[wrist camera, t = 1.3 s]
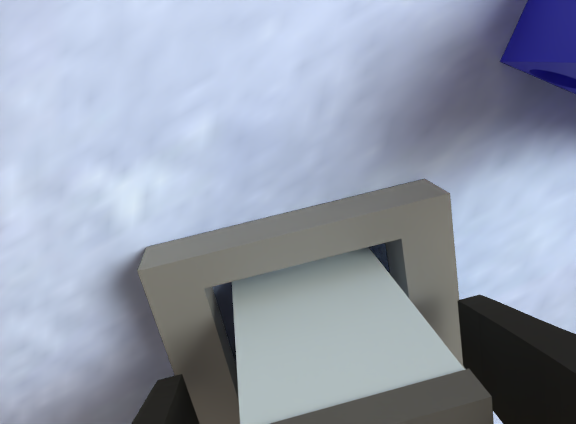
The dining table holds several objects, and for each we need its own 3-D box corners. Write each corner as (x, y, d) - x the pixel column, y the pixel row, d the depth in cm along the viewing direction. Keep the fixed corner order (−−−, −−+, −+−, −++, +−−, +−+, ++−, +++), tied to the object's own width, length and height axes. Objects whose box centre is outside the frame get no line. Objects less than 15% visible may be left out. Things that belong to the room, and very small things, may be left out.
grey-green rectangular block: (384, 354, 15) (502, 565, 9) (261, 387, 15) (292, 631, 8) (366, 240, 13) (491, 396, 7) (229, 274, 13) (238, 468, 7)
